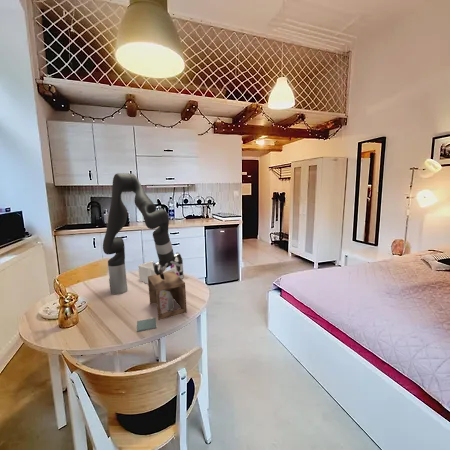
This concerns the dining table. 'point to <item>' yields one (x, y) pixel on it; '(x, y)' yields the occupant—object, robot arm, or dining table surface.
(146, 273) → the storage container
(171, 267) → the supplement can
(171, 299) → the tea bag
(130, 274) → the dining table surface
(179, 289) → the hutch
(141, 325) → the mat
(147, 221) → the robot arm
